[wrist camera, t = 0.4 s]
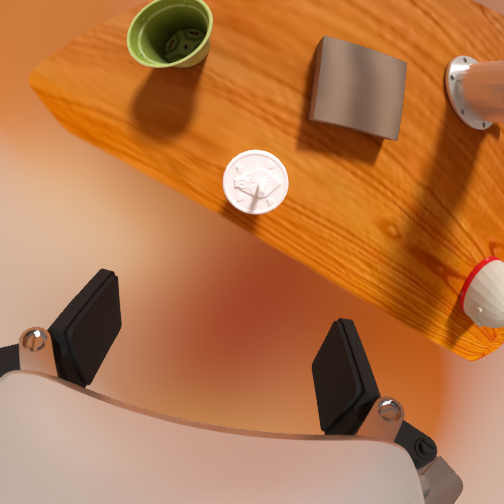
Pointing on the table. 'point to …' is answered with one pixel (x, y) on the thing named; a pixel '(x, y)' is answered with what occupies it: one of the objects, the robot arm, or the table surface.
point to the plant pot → (170, 33)
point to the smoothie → (255, 182)
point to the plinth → (357, 88)
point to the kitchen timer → (485, 293)
